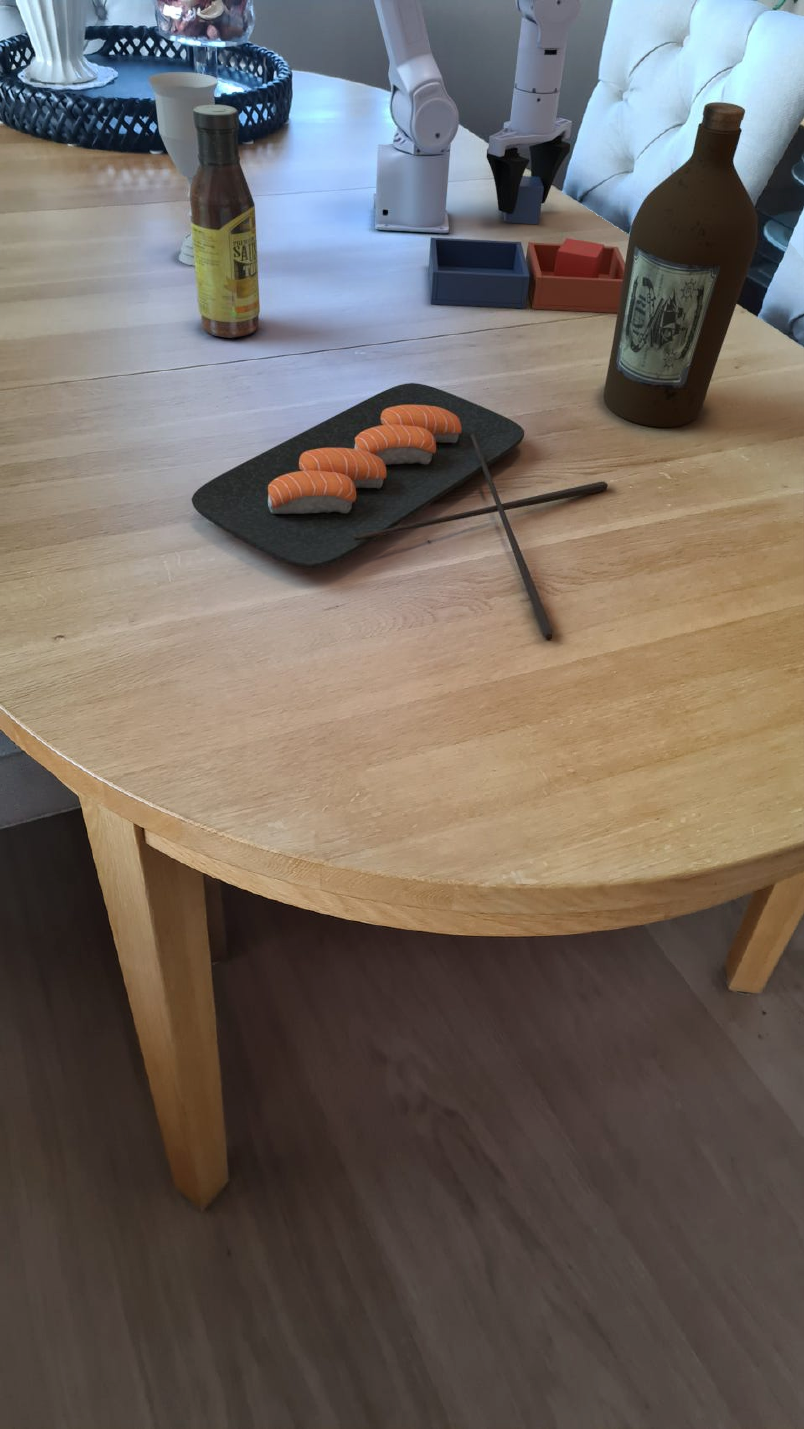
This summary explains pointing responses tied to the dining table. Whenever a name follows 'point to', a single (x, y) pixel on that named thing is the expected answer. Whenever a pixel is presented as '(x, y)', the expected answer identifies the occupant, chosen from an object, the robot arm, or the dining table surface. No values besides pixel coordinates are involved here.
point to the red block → (579, 259)
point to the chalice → (182, 125)
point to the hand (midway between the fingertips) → (522, 206)
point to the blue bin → (478, 273)
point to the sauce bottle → (223, 228)
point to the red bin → (573, 282)
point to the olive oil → (682, 280)
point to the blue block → (527, 202)
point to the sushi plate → (369, 479)
